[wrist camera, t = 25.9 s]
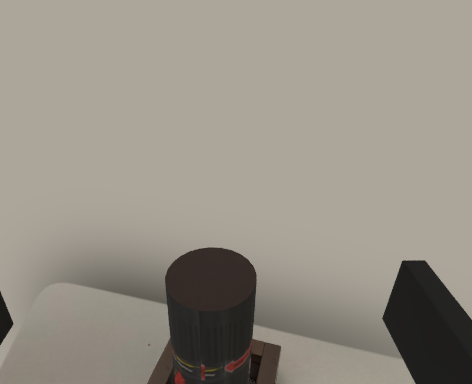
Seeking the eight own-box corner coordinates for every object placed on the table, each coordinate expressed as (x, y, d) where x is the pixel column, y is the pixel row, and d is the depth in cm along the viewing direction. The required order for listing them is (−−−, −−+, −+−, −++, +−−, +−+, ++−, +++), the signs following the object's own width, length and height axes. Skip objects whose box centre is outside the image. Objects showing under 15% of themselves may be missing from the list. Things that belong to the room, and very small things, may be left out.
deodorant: (171, 386, 31) (158, 256, 24) (233, 366, 33) (238, 241, 26) (186, 457, 26) (174, 322, 19) (257, 430, 28) (271, 297, 21)
